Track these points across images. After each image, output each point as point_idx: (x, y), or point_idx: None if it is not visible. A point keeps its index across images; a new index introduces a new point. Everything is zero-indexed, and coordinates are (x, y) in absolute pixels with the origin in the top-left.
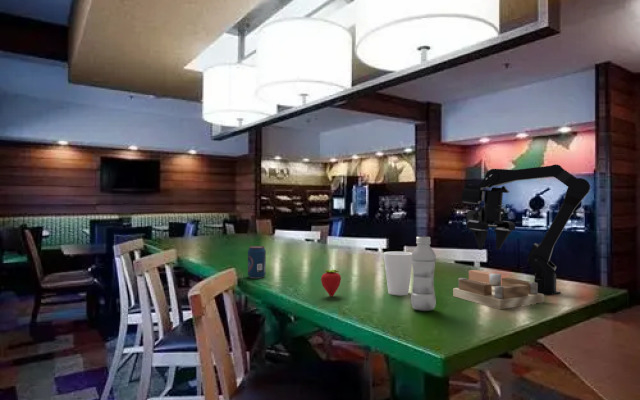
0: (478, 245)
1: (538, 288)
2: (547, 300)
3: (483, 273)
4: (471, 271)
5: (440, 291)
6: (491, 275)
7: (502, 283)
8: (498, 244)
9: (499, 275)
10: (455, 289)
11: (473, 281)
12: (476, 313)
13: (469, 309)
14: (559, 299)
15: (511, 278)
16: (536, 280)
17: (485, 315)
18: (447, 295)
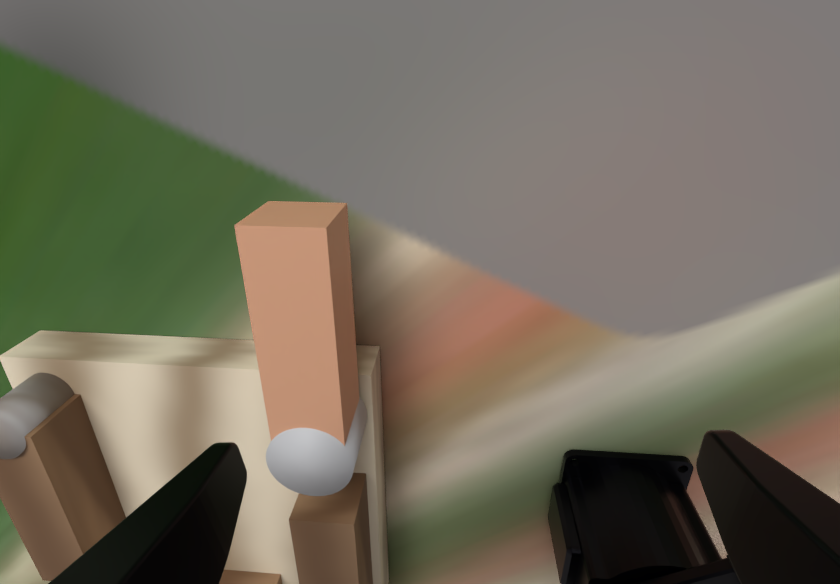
0: (162, 508)
1: (553, 519)
2: (448, 567)
3: (263, 390)
4: (241, 261)
5: (14, 191)
6: (268, 460)
7: (300, 495)
8: (748, 546)
9: (312, 495)
10: (10, 371)
11: (35, 505)
12: (7, 551)
13: (6, 513)
14: (519, 579)
15: (346, 546)
16: (562, 554)
17: (27, 575)
18: (15, 300)
